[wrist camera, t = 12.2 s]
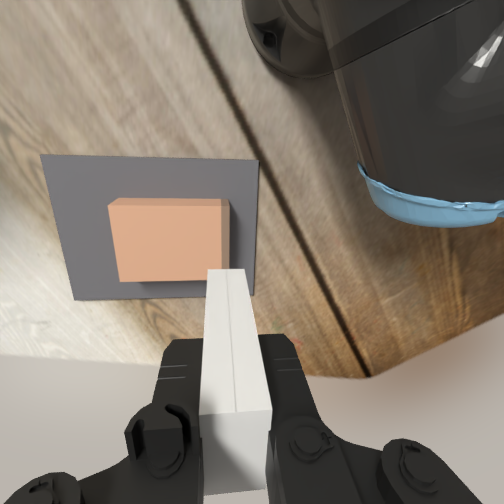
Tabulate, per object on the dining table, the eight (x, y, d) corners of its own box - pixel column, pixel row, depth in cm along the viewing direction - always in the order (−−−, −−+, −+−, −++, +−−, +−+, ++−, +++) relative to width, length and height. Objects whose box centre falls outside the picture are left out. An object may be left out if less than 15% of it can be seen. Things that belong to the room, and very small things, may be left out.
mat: (42, 154, 35) (39, 154, 34) (258, 160, 38) (258, 160, 37) (76, 298, 42) (74, 300, 42) (252, 293, 45) (253, 295, 45)
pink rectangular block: (107, 205, 33) (229, 206, 35) (118, 197, 37) (228, 198, 39) (119, 282, 37) (229, 279, 39) (128, 268, 41) (228, 266, 42)
